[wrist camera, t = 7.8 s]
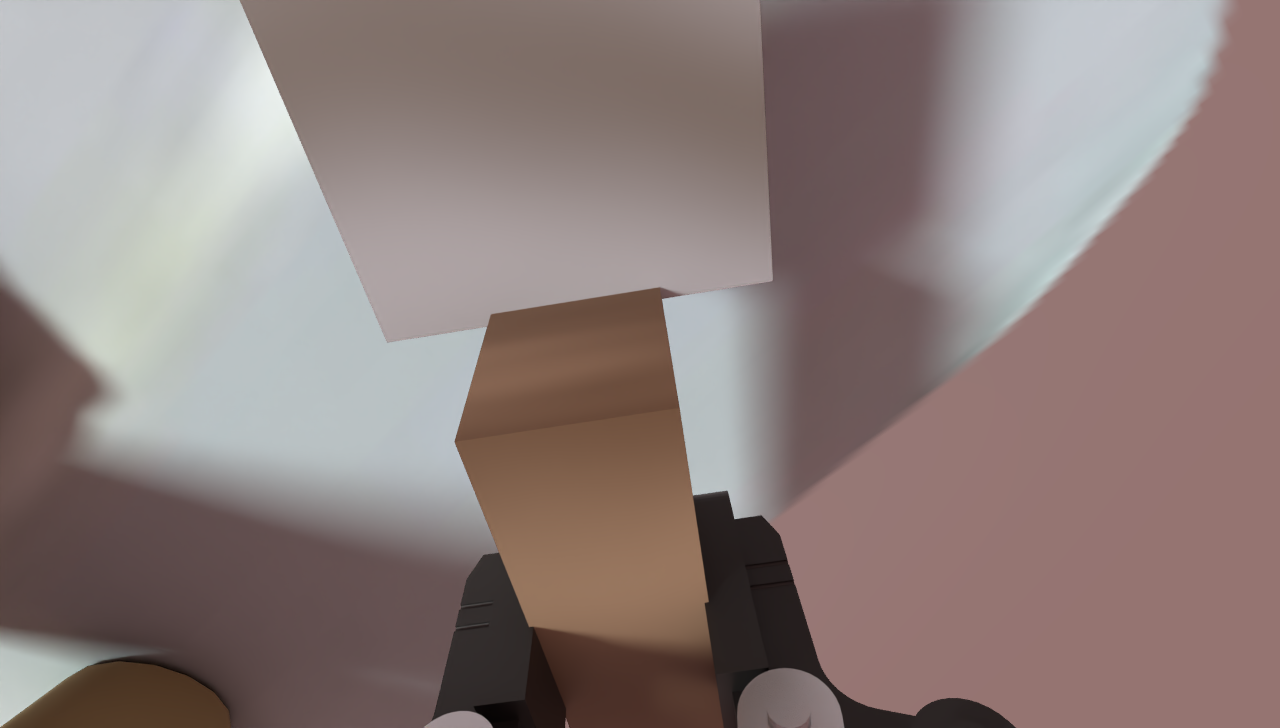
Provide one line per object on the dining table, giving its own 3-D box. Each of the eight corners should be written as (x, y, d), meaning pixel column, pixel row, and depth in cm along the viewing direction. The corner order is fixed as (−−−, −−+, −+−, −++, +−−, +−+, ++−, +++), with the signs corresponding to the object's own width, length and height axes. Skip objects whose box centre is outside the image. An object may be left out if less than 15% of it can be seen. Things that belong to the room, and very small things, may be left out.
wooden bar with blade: (787, 680, 17) (826, 841, 14) (557, 710, 17) (547, 876, 14) (737, -259, 7) (835, -393, 4) (199, -155, 7) (-75, -211, 4)
